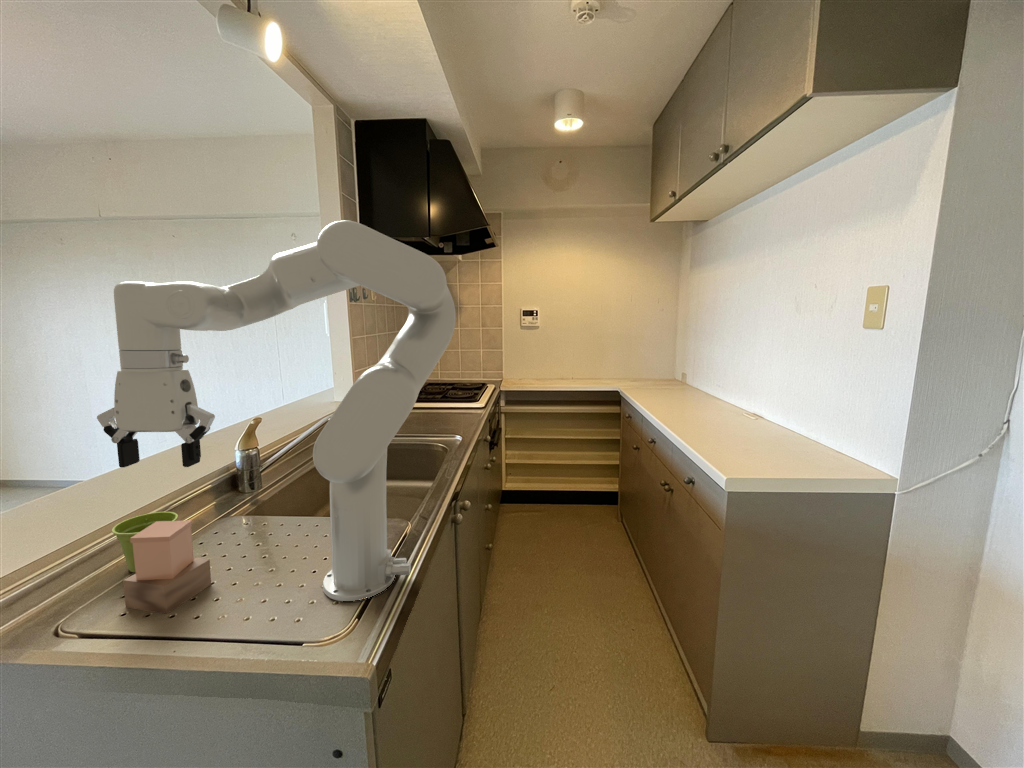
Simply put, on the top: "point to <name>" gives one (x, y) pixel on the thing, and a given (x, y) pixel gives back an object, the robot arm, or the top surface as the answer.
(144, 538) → the peach lipped block
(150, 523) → the plant pot
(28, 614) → the top surface
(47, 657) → the top surface
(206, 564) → the walnut box
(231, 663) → the top surface
